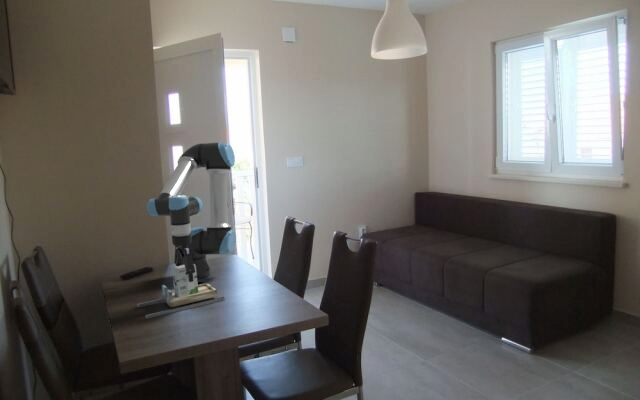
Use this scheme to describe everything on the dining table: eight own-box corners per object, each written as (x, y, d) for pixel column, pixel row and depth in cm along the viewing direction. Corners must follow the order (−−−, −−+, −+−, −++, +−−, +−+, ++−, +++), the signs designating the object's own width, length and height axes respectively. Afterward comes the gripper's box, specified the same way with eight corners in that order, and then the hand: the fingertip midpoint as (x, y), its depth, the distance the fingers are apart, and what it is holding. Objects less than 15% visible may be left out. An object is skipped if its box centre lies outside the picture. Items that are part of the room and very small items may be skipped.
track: (137, 306, 187) (137, 304, 187) (211, 290, 203) (210, 287, 203) (146, 318, 174) (146, 315, 173) (224, 300, 190) (224, 297, 190)
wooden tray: (163, 302, 190) (161, 285, 189) (207, 292, 201) (206, 275, 200) (171, 310, 180) (169, 292, 179) (217, 299, 191) (216, 282, 190)
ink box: (193, 289, 194) (191, 262, 193) (198, 292, 190) (196, 264, 189) (173, 295, 189) (171, 266, 187) (178, 297, 185) (176, 269, 183)
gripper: (163, 231, 194) (168, 279, 197) (181, 240, 174) (186, 295, 176) (181, 228, 198) (185, 276, 201) (200, 237, 178) (205, 290, 180)
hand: (185, 285), depth 189 cm, fingers open, 13 cm apart
